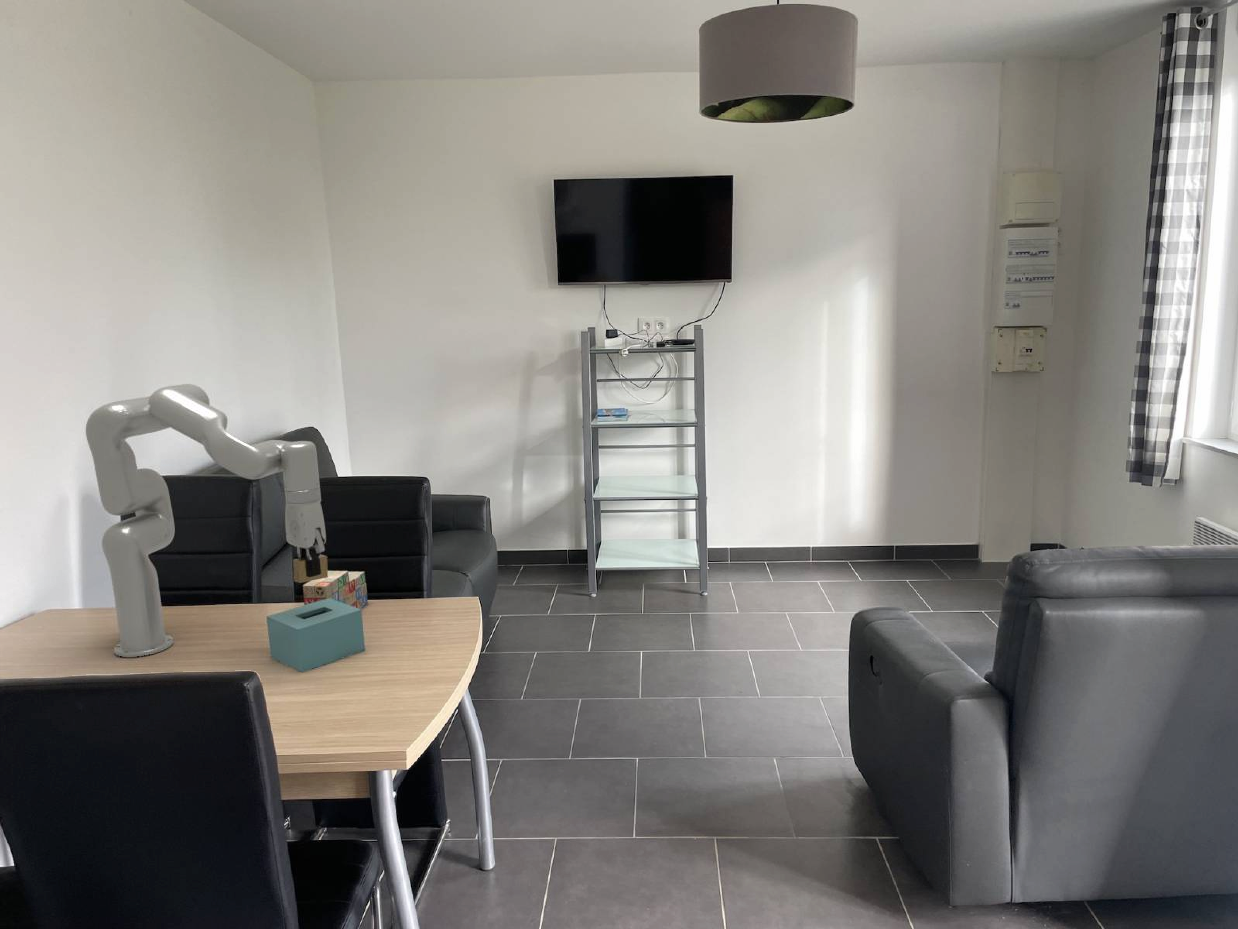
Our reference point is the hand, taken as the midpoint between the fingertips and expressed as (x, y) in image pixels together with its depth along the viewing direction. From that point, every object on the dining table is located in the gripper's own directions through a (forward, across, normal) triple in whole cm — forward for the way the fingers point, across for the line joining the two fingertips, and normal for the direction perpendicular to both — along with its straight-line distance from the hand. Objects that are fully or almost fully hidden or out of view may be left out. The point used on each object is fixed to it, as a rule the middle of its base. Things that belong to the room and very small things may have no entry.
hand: (310, 574), depth 204 cm
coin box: (+19, 0, 0) cm, 19 cm away
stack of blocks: (+20, -19, +17) cm, 32 cm away
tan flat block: (-1, 0, +4) cm, 4 cm away
